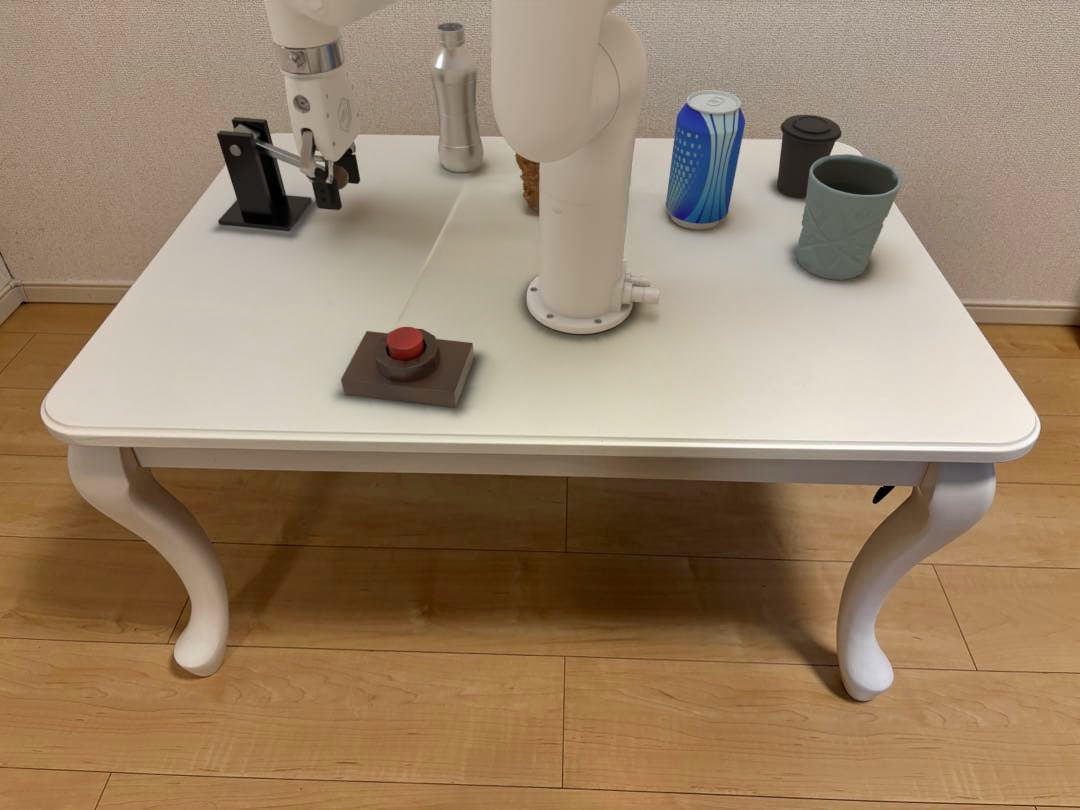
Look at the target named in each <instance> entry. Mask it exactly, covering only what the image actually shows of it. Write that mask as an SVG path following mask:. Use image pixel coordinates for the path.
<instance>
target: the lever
mask: <svg viewBox="0 0 1080 810" xmlns="http://www.w3.org/2000/svg"><path fill="white" fill-rule="evenodd" d="M231 132H243V133H253V135H254V139H255V143H256V146H257V150H258V151H259V152H262V153H264V154H267V155H269V156H271V157H274V158H276V159H277V160H279V161H281V162H284V163H286V164H289V165H291V166H294V167H296V168H298V169H299V163H300V155H297V154H295V153H293V152H290V151H287V150H285V149H283V148H281V147H278V146H275V145H274V144H273V145H271V144H268V143H266V142H263V141H261V140H260V135H261V133H260V132H258V131H255V130H253V129H251V128H248V127H246V126H243V125H241V124H239V125H238V126H237V127H236V128H235V129H234V128H233V130H231ZM316 167H317V168H321V169H322V170H324V171H325V165H322V164H320V163H317V162H316ZM333 180H337V184H338V189H339V191H340V190H343V189H344V188H345V187H346V186H347V185H348V184H349V183H348V180H349V176H348V172H347V171H346V169H345V168H344V167H343V166H341V165H338V164H333Z"/></svg>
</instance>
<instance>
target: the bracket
mask: <svg viewBox="0 0 1080 810" xmlns="http://www.w3.org/2000/svg"><path fill="white" fill-rule="evenodd" d="M231 124H232V127H233V130H234V129H235V128H236V127H237V126H238V125H239V124H241V125H243V126H246V127H248V128H251V129H253V130H255V131H258V132H260V133H261V135H260V140H261V141H263V142H266V143H268V144H271V145H273V146H274V143H273V139H272V135H271V130H270V127H269V123H268V120H267V119H265V118H252V117H242V116H241V117H239V116H234V117H233V118H232V119H231ZM216 137H217V140H218V143H219V146H220V150H221V153H222V156H223V159H224V162H225V165H226V168H227V172H228V176H229V178H230V181H231V185H232V189H233V191H234V195H235V198H236V200H235V201H234V203H233V204H232V205H231V206H229V208H228V209H227V210H226V211H225V212H224V213H223V214H222V215H221V217H220V218H219V219H218V220H217V222H218V225H220V226H221V225H222V226H229V227H238V228H239V227H240V228H251V229H262V230H271V231H283V232H290V231H292V229H293V227H294V226H295V224H296V223H297V221H298V220H299V219H300V218H301V217H302V215H303V214H304V213H305V211H306V210H307V209H308V207H309V206H310V205H311V203H312V202H313V199H312V197H311V196H299V195H289V194H287V192H286V189H285V185H284V180H283V176H282V173H281V170H280V166H279V161H278V159H276V158H274V157H271V156H269V155H267V154H264V153H262V152H259V151H258V150H257V146H256V143H255V139H254V135H253V133H243V132H232V130H231V131H228V130H219V131H218V132H217V133H216Z"/></svg>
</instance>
